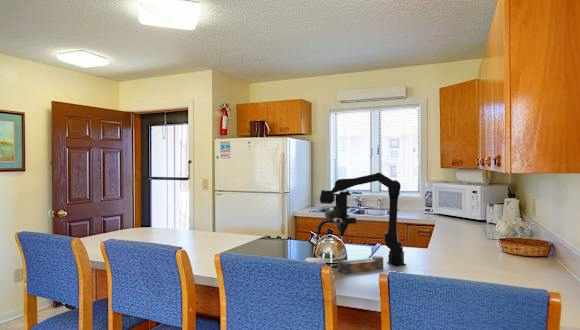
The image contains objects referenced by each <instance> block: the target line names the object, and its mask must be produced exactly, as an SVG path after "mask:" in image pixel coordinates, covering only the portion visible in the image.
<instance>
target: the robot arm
mask: <svg viewBox="0 0 580 330" xmlns="http://www.w3.org/2000/svg"><path fill="white" fill-rule="evenodd" d="M374 182H379V183H380V184H382V185H383V186H385V187H387V191H388V197H389V209H388V210H389V212H388V213H389V214H388V231H386V230H385V231H384V240H383V242H384V243H385V246H386V247H387V248H388V249H389V251H388V261H387V262H386V264H388V265H391V266H393V267H400V266H406V265H407V263H405V257H404V256H405V251H404V245H403V244H402V243H401V242H400V241H399V235H398V228H397V227H398V226H397V225H398V202H399V196H400V191H401V188H402V187H401V185H402V184H401V183H400V182H399V181H398V180H396V179H393V180H392V179H391V178H389V177H388V176H386V175H385V174H383V173H382V172H376V173H373V174H368V175H363V176H357V177H354V178H353V177H351V178H339V179H337V180H336V181H335V182H334V186H333V188H332V189H331V190H326V189H322V190H321V191H320V197H319V202H320V204H324V205H333V203H334V202H335V205H334V206H333V208H332V209H331V210H329V211H327V212H324V216H325V219H326V220H327V221H332V222H333V223H334V224H335V225H336V227H337V229H338V233H339V236H340V237H343V236H344V234H345V232H346V230H347V228H348V226H349V225H351V224H352V225H353V224H357V223H358V222H357V221H358V220H357V218H356V217H353V216H350V215H349V214H348V209H349V208H350V206H348V196H352V193H351V192H350V190H347V189H350V188H352V187H355V186H359V185H365V184H368V183H374ZM338 192H339V193H338Z"/></svg>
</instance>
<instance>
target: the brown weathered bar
mask: <svg viewBox="0 0 580 330" xmlns="http://www.w3.org/2000/svg"><path fill="white" fill-rule="evenodd" d="M366 260H372V258H370V257H364V258H363V257H362V258H354V259H347V260H346V259H343V260H337V262H336V263H337V269H336V270H337V271H338V272H341V273H342V263H346V262H348V263H349V262H357V261H366Z"/></svg>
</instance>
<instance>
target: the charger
mask: <svg viewBox="0 0 580 330" xmlns="http://www.w3.org/2000/svg"><path fill="white" fill-rule="evenodd" d="M305 261H308V262H316V263H323V264H325V265H326V264H327V263H326V259H325V258H324V257H307V258H305ZM305 261H304V262H305Z"/></svg>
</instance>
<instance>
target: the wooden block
mask: <svg viewBox="0 0 580 330" xmlns="http://www.w3.org/2000/svg"><path fill="white" fill-rule="evenodd" d="M383 269H384V257H383V256H380V255H373V256H371V260H366V261H357V262H349V263H348V262H346V263H342V271H341V274H342V275H345V276H347V275H352V274H361V273H368V272H375V271H379V270H383Z"/></svg>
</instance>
